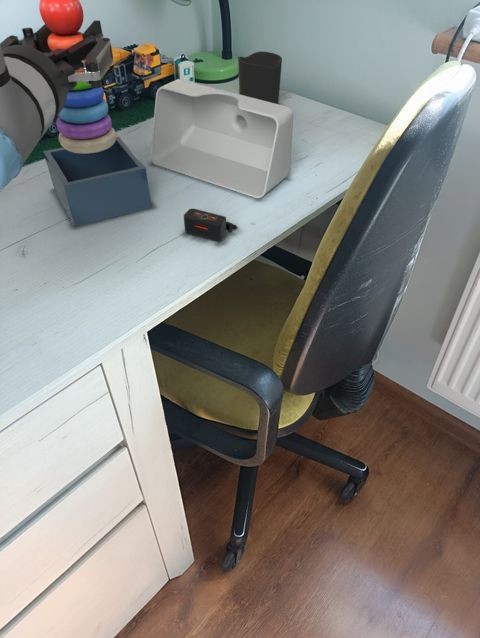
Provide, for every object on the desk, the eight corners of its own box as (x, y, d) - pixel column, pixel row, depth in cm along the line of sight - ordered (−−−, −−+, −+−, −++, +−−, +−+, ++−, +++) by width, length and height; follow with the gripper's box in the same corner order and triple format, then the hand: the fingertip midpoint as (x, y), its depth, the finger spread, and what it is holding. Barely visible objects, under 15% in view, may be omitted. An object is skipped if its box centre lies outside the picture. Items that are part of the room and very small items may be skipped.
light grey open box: (306, 164, 98) (312, 95, 89) (263, 200, 88) (265, 127, 79) (199, 133, 106) (195, 67, 98) (149, 162, 97) (140, 92, 88)
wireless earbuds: (225, 245, 79) (224, 227, 76) (183, 234, 80) (181, 216, 78) (237, 230, 82) (237, 212, 79) (197, 220, 83) (196, 202, 81)
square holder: (54, 190, 89) (43, 151, 84) (126, 174, 93) (119, 136, 88) (74, 227, 81) (63, 185, 76) (151, 207, 86) (146, 167, 81)
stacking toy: (128, 145, 74) (103, -10, 61) (78, 161, 70) (40, -1, 57) (99, 128, 78) (70, -22, 65) (50, 142, 74) (9, -14, 61)
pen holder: (280, 115, 114) (282, 65, 107) (238, 114, 114) (237, 64, 107) (278, 99, 121) (281, 51, 114) (238, 98, 120) (238, 50, 113)
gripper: (-55, 130, 55) (18, 60, 71) (115, 134, 55) (149, 64, 72) (-87, 52, 50) (0, -4, 66) (101, 58, 50) (141, 0, 66)
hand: (77, 31), depth 69 cm, fingers closed on stacking toy, 5 cm apart
